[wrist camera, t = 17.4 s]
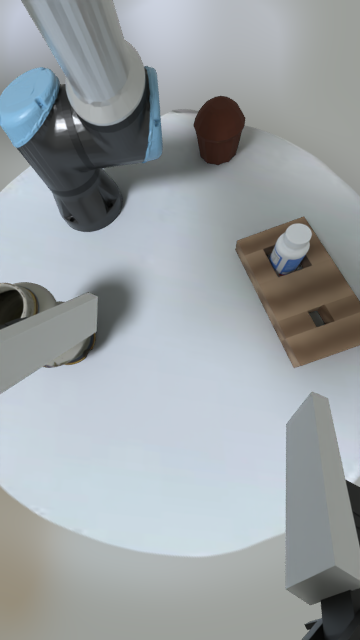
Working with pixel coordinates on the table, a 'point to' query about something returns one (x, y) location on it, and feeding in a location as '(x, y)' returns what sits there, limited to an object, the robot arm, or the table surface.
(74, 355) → the apothecary jar
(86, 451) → the table surface
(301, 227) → the pill bottle
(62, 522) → the table surface
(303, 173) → the table surface
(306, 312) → the socket board
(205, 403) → the table surface
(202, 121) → the muffin
